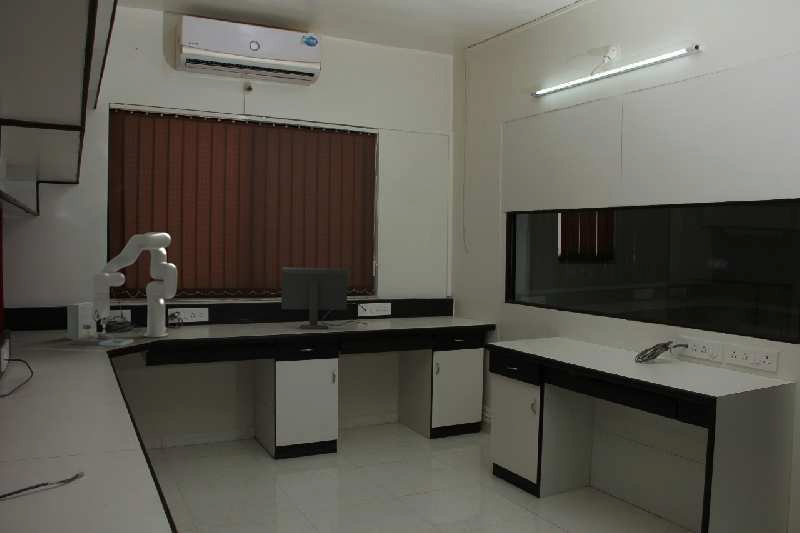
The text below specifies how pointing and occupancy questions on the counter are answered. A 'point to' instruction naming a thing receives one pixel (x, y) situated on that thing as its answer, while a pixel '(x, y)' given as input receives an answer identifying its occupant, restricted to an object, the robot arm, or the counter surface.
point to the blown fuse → (103, 334)
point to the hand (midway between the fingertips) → (101, 331)
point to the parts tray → (108, 343)
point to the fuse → (86, 331)
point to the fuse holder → (91, 340)
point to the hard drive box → (80, 319)
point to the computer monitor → (314, 291)
